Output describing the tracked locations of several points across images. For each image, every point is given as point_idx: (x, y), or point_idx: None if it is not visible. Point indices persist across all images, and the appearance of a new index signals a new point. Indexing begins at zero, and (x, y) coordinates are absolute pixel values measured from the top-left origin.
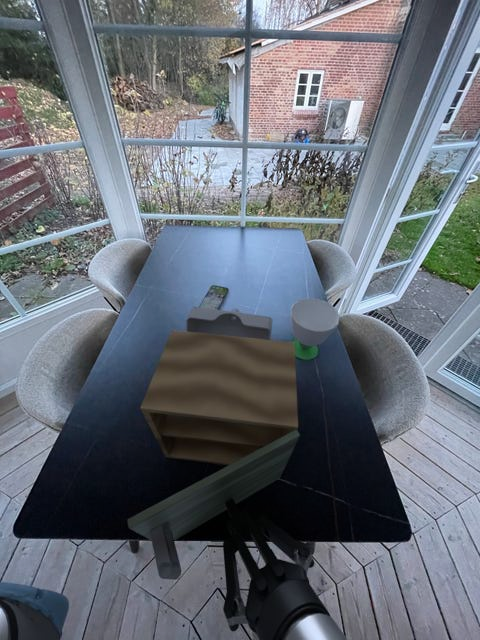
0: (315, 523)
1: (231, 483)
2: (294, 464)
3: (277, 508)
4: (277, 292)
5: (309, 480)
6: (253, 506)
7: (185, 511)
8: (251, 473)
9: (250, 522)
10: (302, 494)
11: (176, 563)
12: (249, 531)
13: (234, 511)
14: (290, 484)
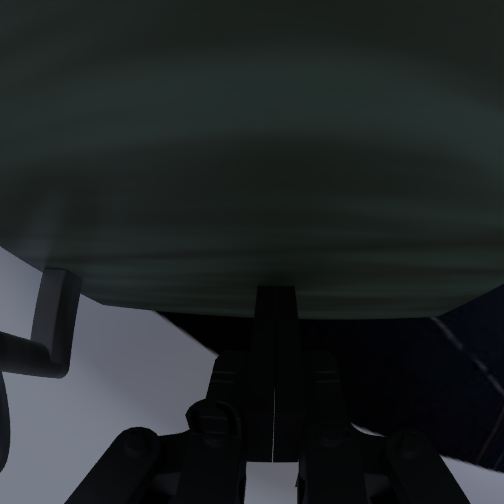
0: (454, 437)
1: (321, 99)
2: (476, 303)
3: (398, 378)
4: None
5: (489, 350)
6: (343, 347)
7: (9, 175)
8: (486, 154)
9: (333, 438)
10: (464, 373)
11: (48, 347)
12: (301, 460)
13: (275, 333)
14: (451, 341)
